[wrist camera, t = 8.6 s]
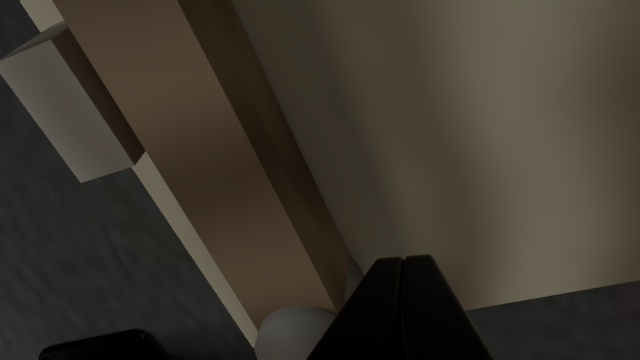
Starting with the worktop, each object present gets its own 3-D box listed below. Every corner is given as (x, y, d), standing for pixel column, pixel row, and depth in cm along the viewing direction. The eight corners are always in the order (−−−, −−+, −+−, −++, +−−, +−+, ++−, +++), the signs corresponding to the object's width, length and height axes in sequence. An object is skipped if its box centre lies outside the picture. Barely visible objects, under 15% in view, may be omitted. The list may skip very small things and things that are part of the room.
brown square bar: (377, 303, 23) (370, 382, 20) (297, 317, 24) (279, 393, 21) (199, -83, 15) (146, -51, 13) (97, -37, 17) (26, 2, 14)
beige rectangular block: (265, 305, 27) (234, 408, 23) (61, -23, 20) (-46, 36, 15) (730, 211, 21) (814, 329, 17) (693, -321, 13) (828, -372, 9)
